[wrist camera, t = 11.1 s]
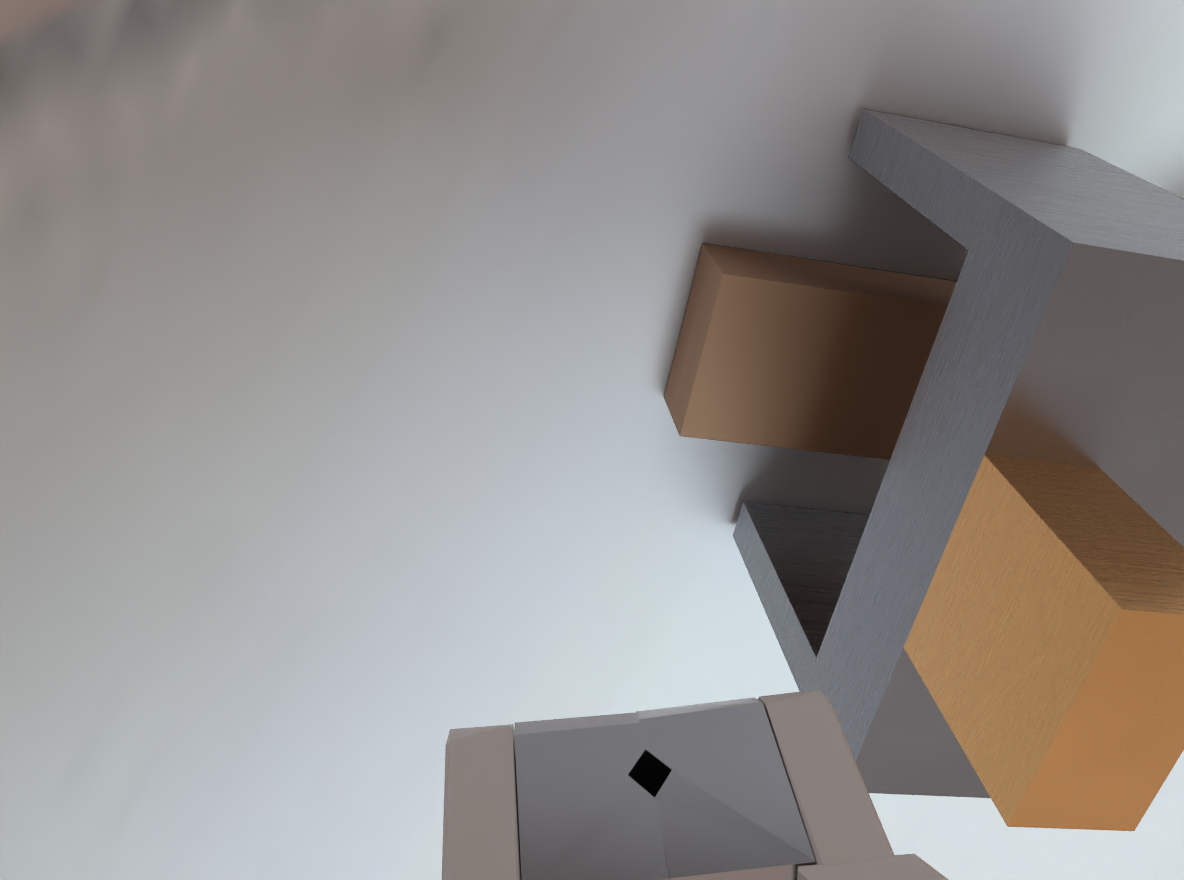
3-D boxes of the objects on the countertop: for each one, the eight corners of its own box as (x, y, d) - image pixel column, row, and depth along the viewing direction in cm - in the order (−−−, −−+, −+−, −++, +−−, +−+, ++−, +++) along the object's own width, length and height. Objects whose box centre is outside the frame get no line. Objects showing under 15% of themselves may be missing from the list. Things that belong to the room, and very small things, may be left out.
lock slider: (732, 535, 21) (925, 982, 13) (863, 108, 17) (1254, 357, 9) (916, 552, 22) (1206, 982, 14) (1079, 149, 18) (1618, 410, 10)
